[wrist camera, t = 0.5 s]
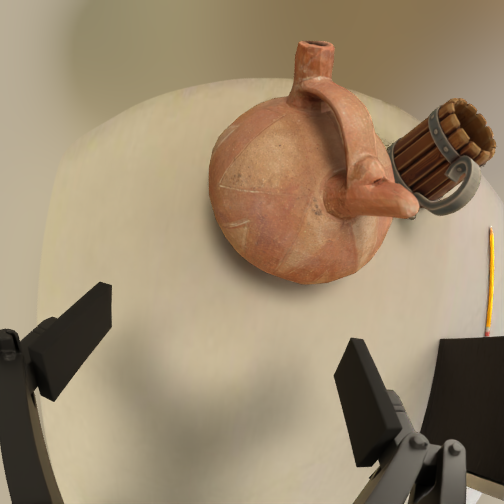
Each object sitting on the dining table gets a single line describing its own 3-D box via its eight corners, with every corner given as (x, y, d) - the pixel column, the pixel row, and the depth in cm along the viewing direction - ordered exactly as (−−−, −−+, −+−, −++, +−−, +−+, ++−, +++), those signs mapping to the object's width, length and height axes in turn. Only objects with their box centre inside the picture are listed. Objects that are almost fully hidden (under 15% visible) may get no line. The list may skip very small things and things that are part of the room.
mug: (386, 134, 41) (441, 75, 27) (437, 169, 42) (498, 123, 27) (365, 217, 37) (440, 163, 22) (425, 253, 37) (506, 220, 23)
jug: (374, 271, 35) (503, 219, 16) (228, 310, 32) (270, 287, 12) (328, 139, 39) (400, 32, 20) (193, 155, 35) (196, 15, 16)
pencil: (484, 335, 36) (487, 335, 36) (488, 226, 42) (491, 224, 41) (486, 336, 37) (489, 336, 36) (490, 227, 42) (493, 226, 41)
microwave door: (462, 475, 30) (536, 501, 13) (400, 491, 29) (481, 538, 12) (474, 439, 32) (554, 457, 15) (415, 450, 30) (508, 487, 13)
